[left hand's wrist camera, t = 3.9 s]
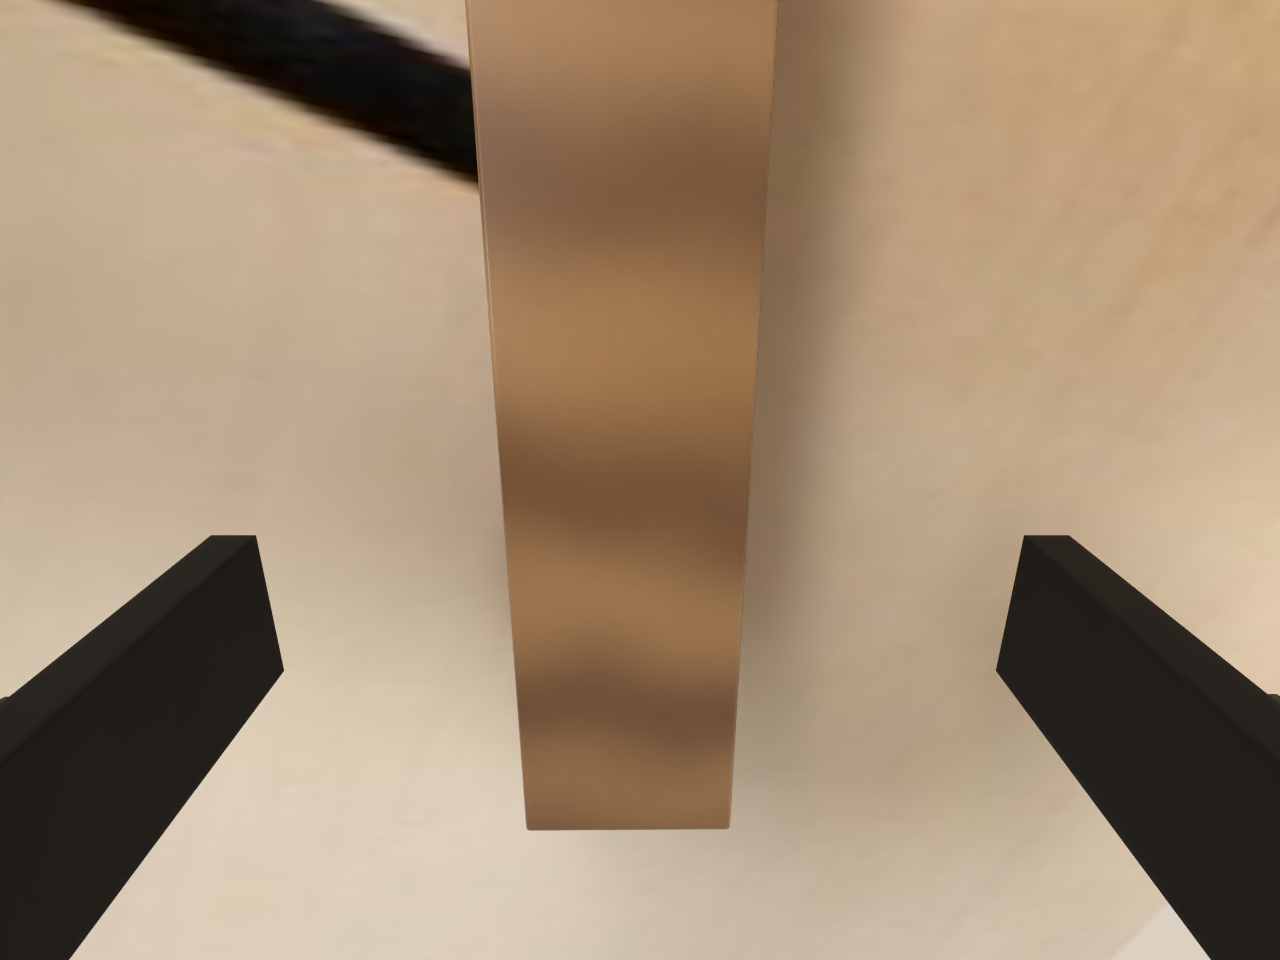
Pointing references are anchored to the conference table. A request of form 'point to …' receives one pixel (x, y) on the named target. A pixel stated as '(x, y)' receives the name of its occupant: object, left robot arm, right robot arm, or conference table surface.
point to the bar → (624, 385)
